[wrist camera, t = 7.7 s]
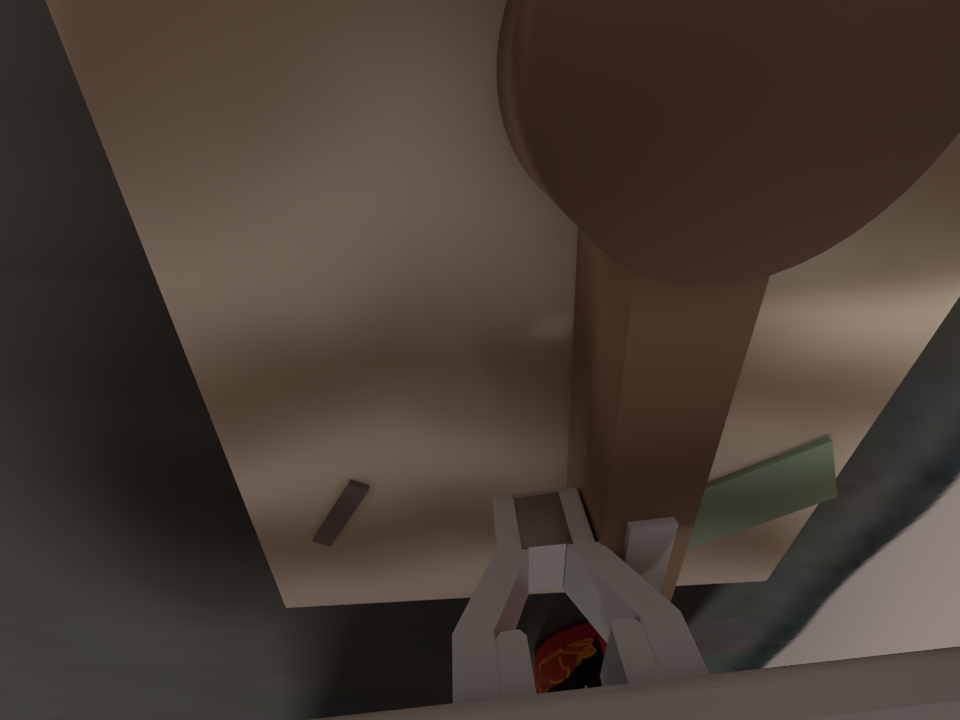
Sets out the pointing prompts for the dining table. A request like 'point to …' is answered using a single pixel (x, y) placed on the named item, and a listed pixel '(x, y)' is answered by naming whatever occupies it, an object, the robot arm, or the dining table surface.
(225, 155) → the cream flat square slab
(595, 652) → the canned food
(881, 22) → the wooden spoon
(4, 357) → the dining table surface
